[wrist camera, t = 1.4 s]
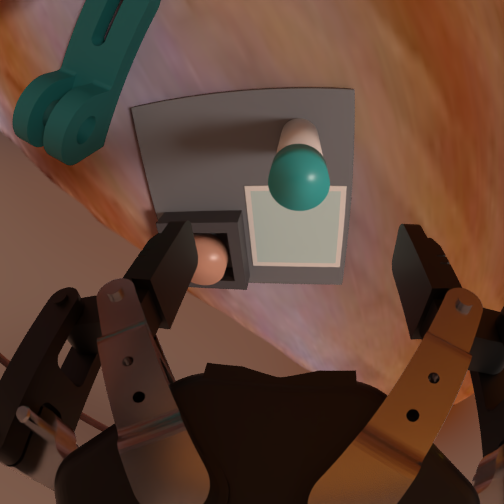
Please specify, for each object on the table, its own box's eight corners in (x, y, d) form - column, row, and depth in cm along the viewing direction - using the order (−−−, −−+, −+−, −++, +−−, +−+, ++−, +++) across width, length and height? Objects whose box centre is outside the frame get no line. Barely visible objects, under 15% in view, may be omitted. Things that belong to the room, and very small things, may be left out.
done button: (176, 232, 29) (168, 243, 27) (225, 231, 28) (220, 244, 27) (186, 271, 32) (181, 284, 30) (232, 273, 31) (228, 286, 29)
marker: (278, 117, 22) (265, 155, 14) (318, 116, 22) (330, 154, 14) (281, 153, 24) (269, 210, 16) (319, 153, 24) (329, 211, 16)
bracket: (104, 145, 27) (56, 177, 21) (59, 123, 25) (9, 149, 19) (175, -20, 16) (129, -40, 10) (117, -33, 15) (64, -46, 9)
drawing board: (135, 106, 24) (118, 113, 21) (352, 88, 21) (359, 92, 18) (177, 274, 36) (169, 292, 33) (341, 279, 32) (343, 299, 30)
